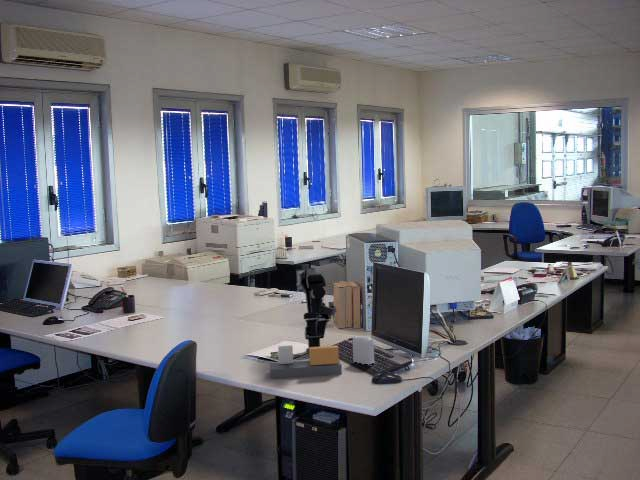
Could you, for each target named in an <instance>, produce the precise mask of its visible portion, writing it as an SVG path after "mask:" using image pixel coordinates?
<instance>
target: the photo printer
mask: <svg viewBox="0 0 640 480" xmlns="http://www.w3.org/2000/svg"><path fill="white" fill-rule="evenodd" d="M374 343H375V342H374V340H373V339H372V338H370V337H369V336H365V335H358V336H354V337H353V338H352V354H353V357H352V359H353V361H352V362H353V363H355V362H357V363H356V364H359V363H361V365H364V364H368V365H367V366H370V365H369V364H372V363H374V364H375V347H374Z"/></svg>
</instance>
